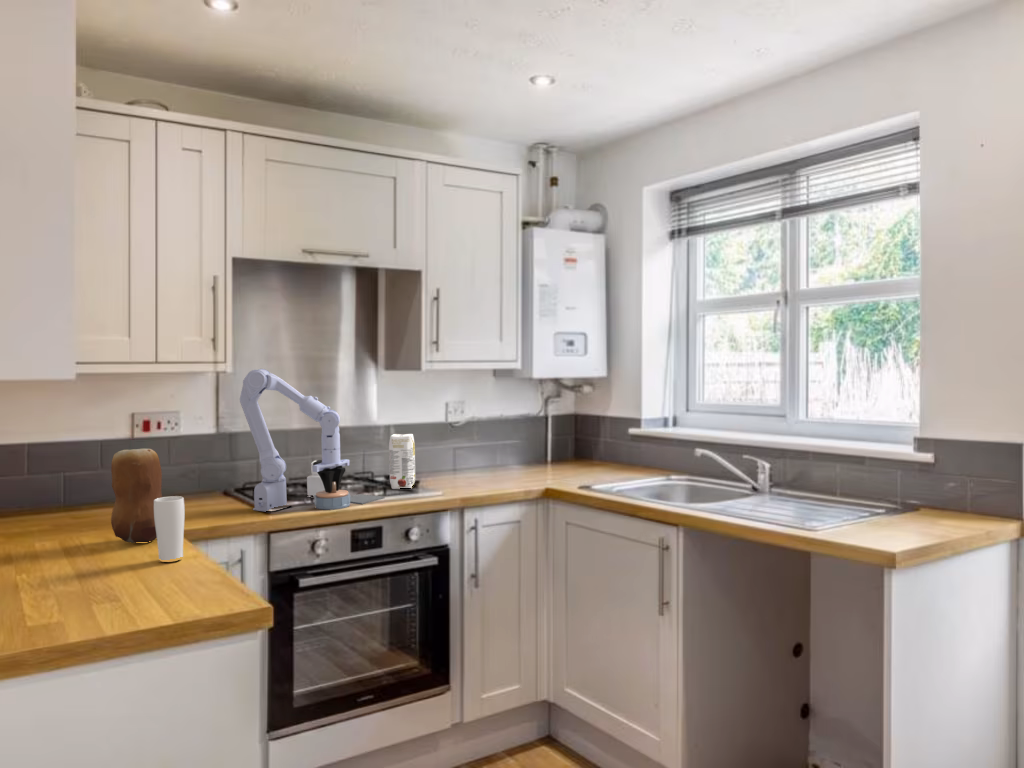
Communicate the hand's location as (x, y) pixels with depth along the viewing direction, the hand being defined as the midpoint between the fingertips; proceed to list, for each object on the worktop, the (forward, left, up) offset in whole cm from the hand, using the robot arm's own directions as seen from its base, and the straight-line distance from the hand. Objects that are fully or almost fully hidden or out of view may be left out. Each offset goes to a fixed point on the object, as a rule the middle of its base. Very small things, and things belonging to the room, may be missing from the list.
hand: (332, 491), depth 247 cm
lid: (0, 0, -1) cm, 1 cm away
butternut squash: (-58, +12, -5) cm, 59 cm away
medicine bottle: (+11, +16, -5) cm, 20 cm away
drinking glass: (-65, -10, -5) cm, 66 cm away
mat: (+12, -1, -5) cm, 13 cm away
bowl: (0, 0, -5) cm, 5 cm away
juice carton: (+35, 0, -5) cm, 35 cm away
